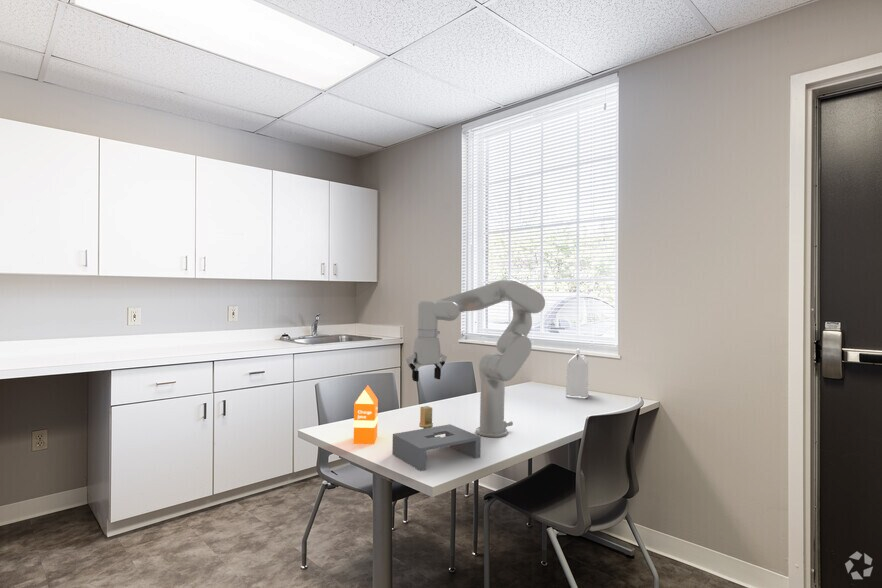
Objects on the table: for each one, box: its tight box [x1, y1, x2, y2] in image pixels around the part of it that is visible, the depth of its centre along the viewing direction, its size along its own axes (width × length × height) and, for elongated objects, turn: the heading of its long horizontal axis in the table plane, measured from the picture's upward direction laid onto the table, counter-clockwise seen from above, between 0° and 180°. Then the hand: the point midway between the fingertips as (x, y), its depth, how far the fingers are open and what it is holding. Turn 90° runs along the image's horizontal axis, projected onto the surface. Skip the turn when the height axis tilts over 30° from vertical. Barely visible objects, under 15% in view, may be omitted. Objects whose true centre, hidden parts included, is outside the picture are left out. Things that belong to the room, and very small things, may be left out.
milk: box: [565, 348, 589, 398], centre depth 266 cm, size 12×12×26 cm
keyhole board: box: [391, 423, 482, 472], centre depth 164 cm, size 24×18×7 cm
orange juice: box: [353, 385, 379, 445], centre depth 180 cm, size 8×9×20 cm
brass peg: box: [418, 405, 434, 429], centre depth 180 cm, size 5×5×12 cm
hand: (426, 379), depth 180 cm, fingers open, 9 cm apart
